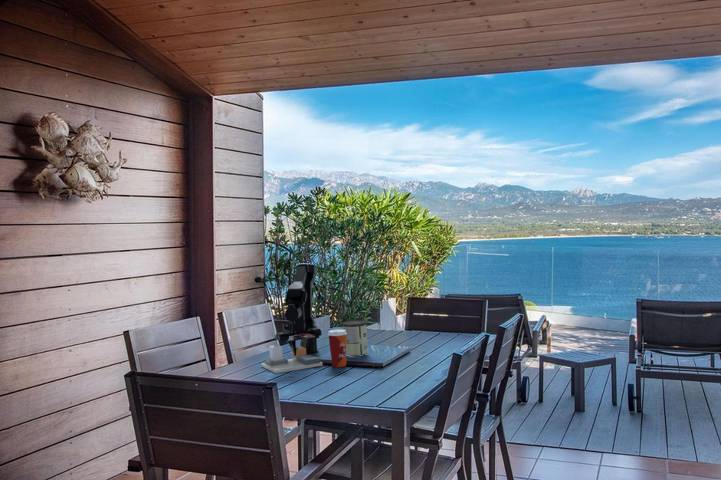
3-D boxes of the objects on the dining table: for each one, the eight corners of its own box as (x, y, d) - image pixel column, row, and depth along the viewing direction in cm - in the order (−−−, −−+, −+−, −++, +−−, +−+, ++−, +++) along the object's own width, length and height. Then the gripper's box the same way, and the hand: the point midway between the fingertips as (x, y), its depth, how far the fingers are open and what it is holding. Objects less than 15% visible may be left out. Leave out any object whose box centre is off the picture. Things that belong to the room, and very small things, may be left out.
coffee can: (345, 353, 294) (343, 320, 293) (369, 352, 293) (367, 319, 292) (342, 358, 284) (340, 324, 283) (367, 357, 283) (365, 323, 282)
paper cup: (346, 367, 264) (344, 332, 264) (327, 368, 266) (325, 332, 265) (350, 363, 272) (348, 328, 271) (332, 363, 273) (330, 329, 273)
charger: (279, 361, 277) (278, 344, 277) (283, 363, 274) (281, 345, 273) (270, 363, 275) (269, 345, 275) (273, 364, 272) (272, 347, 271)
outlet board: (306, 359, 285) (306, 352, 285) (322, 365, 271) (322, 358, 271) (261, 366, 276) (261, 359, 276) (275, 373, 261) (275, 366, 261)
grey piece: (310, 359, 279) (309, 354, 279) (320, 362, 270) (319, 358, 270) (296, 361, 276) (296, 356, 276) (306, 365, 268) (306, 360, 267)
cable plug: (295, 353, 290) (295, 344, 290) (306, 357, 280) (305, 348, 280) (287, 354, 288) (286, 345, 288) (297, 359, 278) (296, 349, 278)
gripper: (310, 313, 292) (312, 349, 292) (269, 318, 283) (271, 355, 284) (321, 315, 282) (323, 352, 283) (279, 321, 273) (281, 359, 274)
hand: (299, 354), depth 281 cm, fingers closed on cable plug, 4 cm apart
